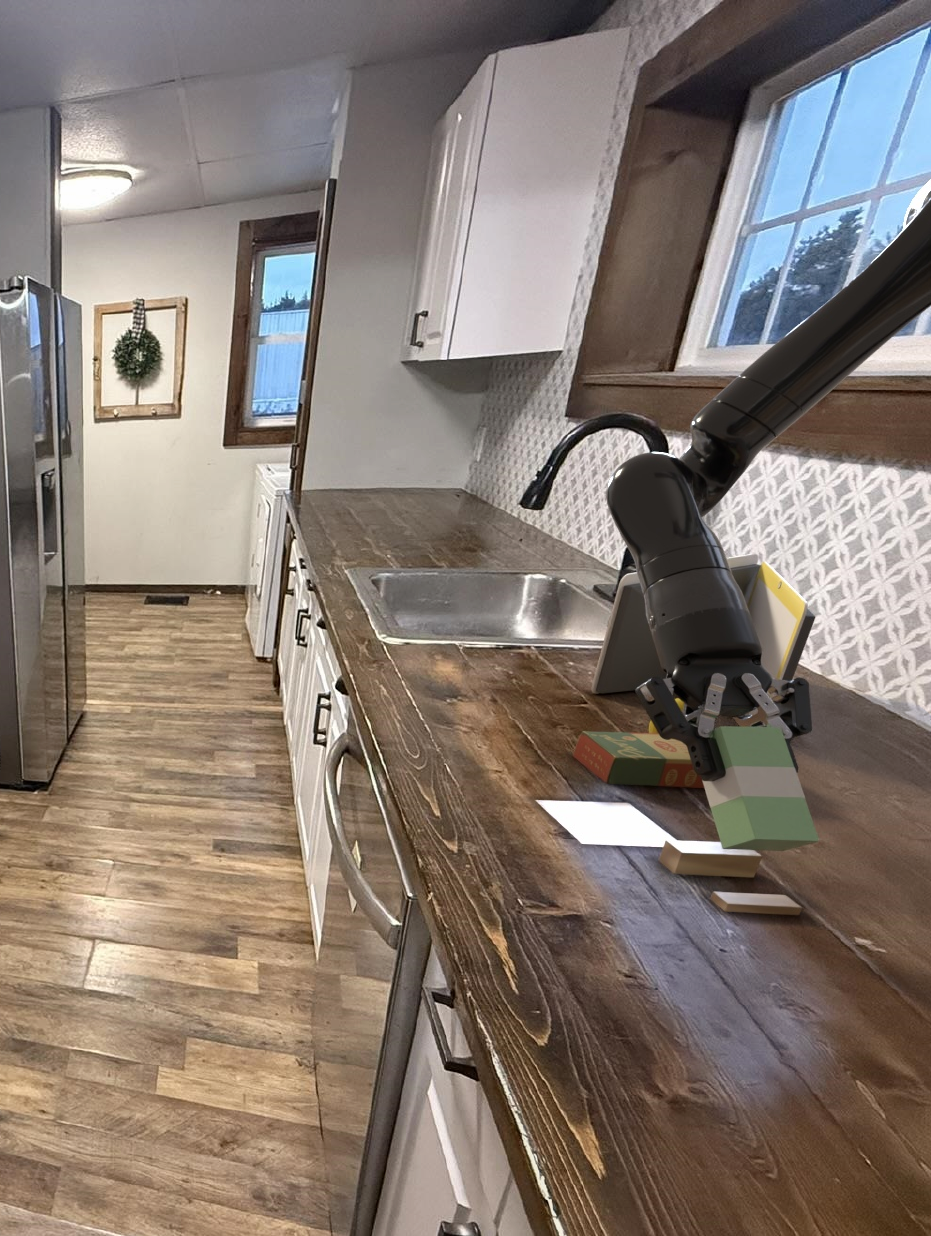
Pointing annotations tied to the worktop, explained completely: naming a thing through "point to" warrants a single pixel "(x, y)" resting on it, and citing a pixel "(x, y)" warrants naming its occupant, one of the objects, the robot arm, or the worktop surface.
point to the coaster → (606, 823)
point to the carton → (637, 759)
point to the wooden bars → (725, 874)
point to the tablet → (769, 605)
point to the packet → (758, 792)
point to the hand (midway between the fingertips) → (748, 779)
